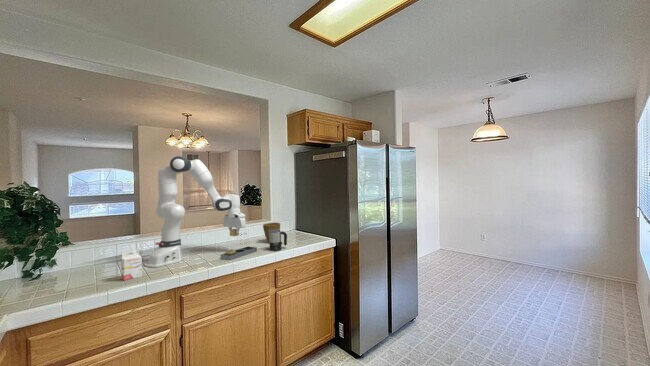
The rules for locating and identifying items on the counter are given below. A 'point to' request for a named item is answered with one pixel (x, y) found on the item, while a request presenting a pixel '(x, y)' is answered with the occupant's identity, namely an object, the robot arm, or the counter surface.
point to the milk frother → (276, 239)
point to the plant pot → (270, 228)
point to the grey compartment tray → (239, 253)
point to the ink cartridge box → (131, 265)
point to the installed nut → (230, 252)
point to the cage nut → (233, 232)
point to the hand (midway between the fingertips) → (234, 233)
